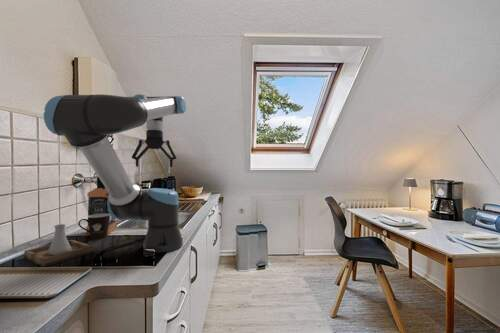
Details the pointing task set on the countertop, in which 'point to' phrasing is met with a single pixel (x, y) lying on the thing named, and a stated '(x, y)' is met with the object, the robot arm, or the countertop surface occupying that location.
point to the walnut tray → (44, 259)
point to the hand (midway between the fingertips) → (154, 173)
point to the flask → (59, 241)
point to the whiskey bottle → (99, 204)
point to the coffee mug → (97, 225)
